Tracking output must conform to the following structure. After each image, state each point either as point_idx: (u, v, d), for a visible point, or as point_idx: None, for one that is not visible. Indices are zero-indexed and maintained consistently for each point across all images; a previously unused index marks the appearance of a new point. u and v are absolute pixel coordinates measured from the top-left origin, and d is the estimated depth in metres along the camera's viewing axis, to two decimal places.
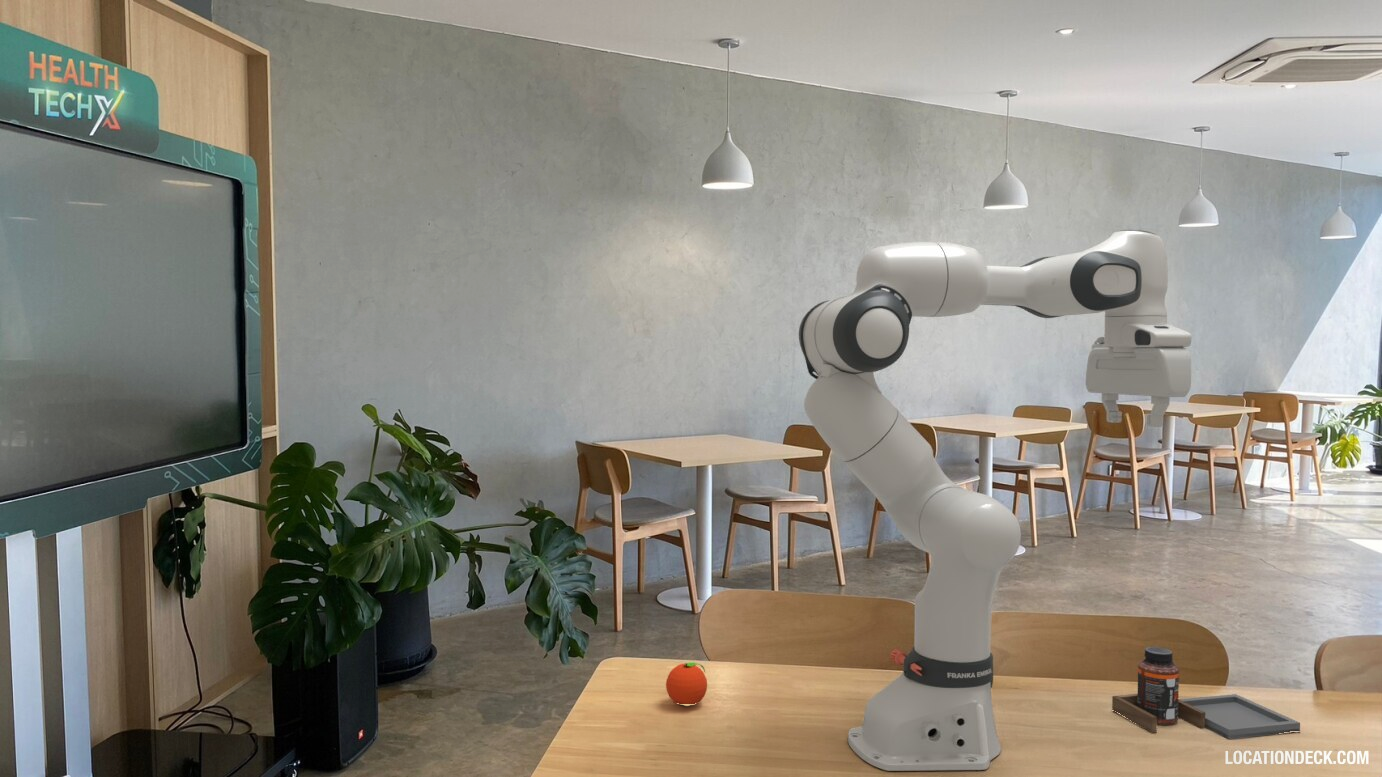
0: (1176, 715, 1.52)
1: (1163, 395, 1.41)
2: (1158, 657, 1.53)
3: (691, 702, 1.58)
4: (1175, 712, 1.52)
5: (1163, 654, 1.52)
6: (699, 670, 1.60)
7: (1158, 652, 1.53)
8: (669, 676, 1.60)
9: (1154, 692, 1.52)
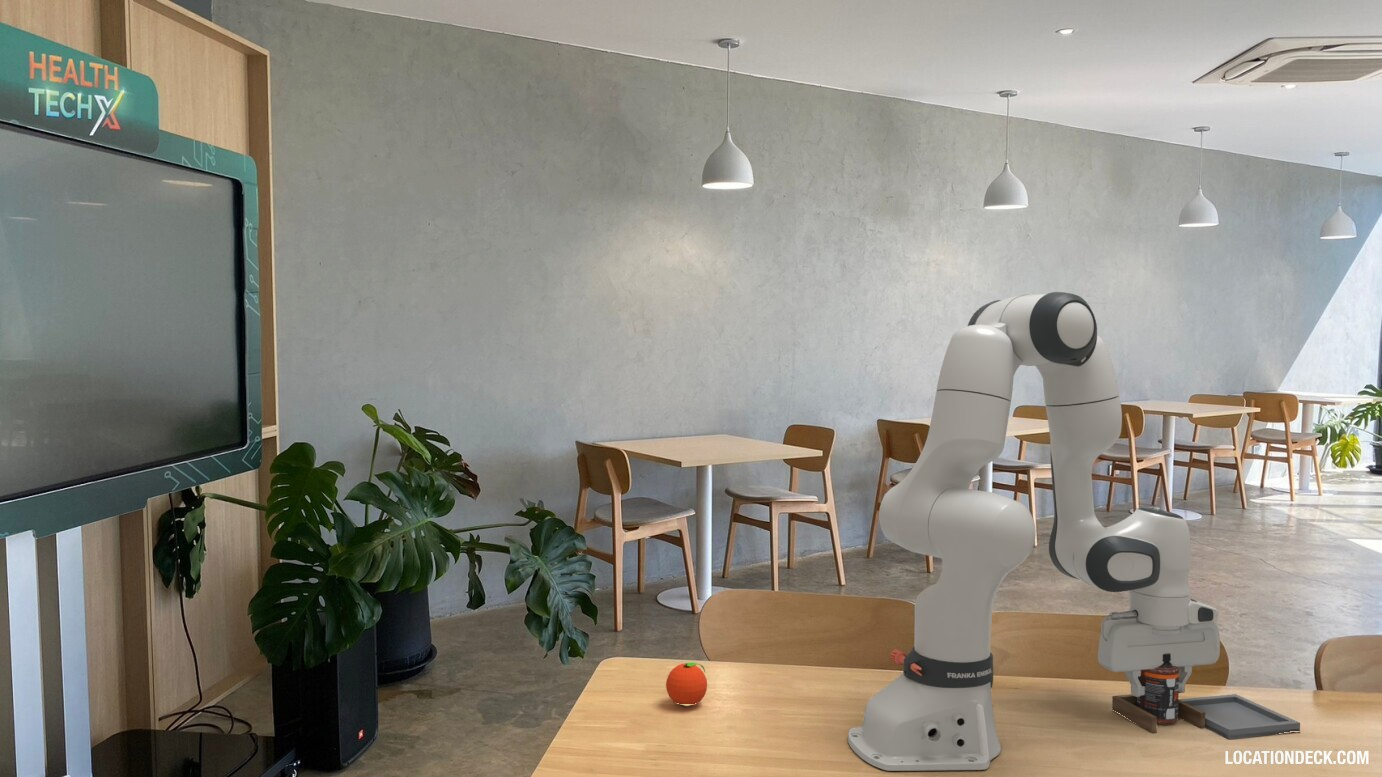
0: (1176, 715, 1.52)
1: (1211, 663, 1.55)
2: None
3: (691, 702, 1.58)
4: (1175, 712, 1.52)
5: (1164, 654, 1.52)
6: (699, 670, 1.60)
7: None
8: (669, 676, 1.60)
9: (1154, 692, 1.52)
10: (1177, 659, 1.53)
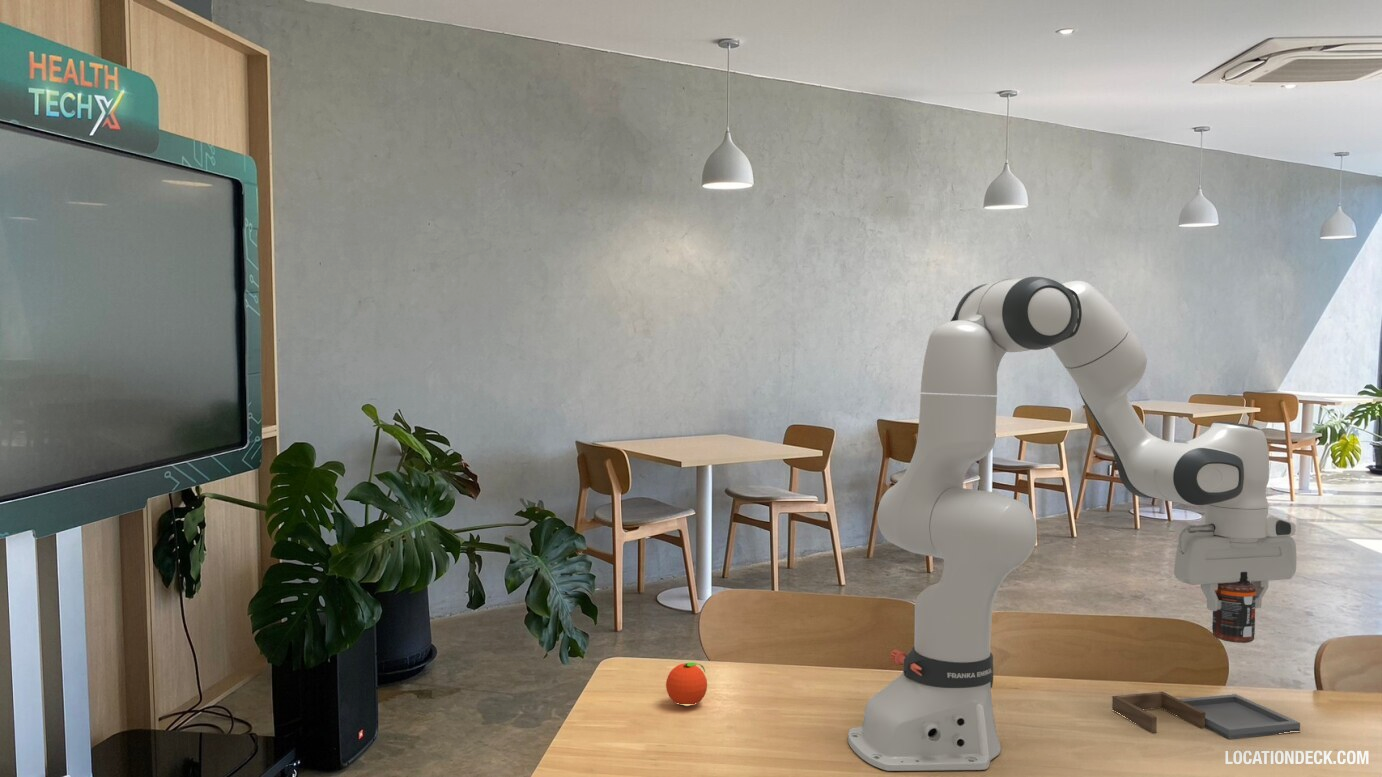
0: (1253, 633, 1.52)
1: (1288, 578, 1.54)
2: None
3: (691, 702, 1.58)
4: (1252, 630, 1.51)
5: (1241, 572, 1.52)
6: (699, 670, 1.60)
7: None
8: (669, 676, 1.60)
9: (1231, 610, 1.51)
10: (1254, 573, 1.52)
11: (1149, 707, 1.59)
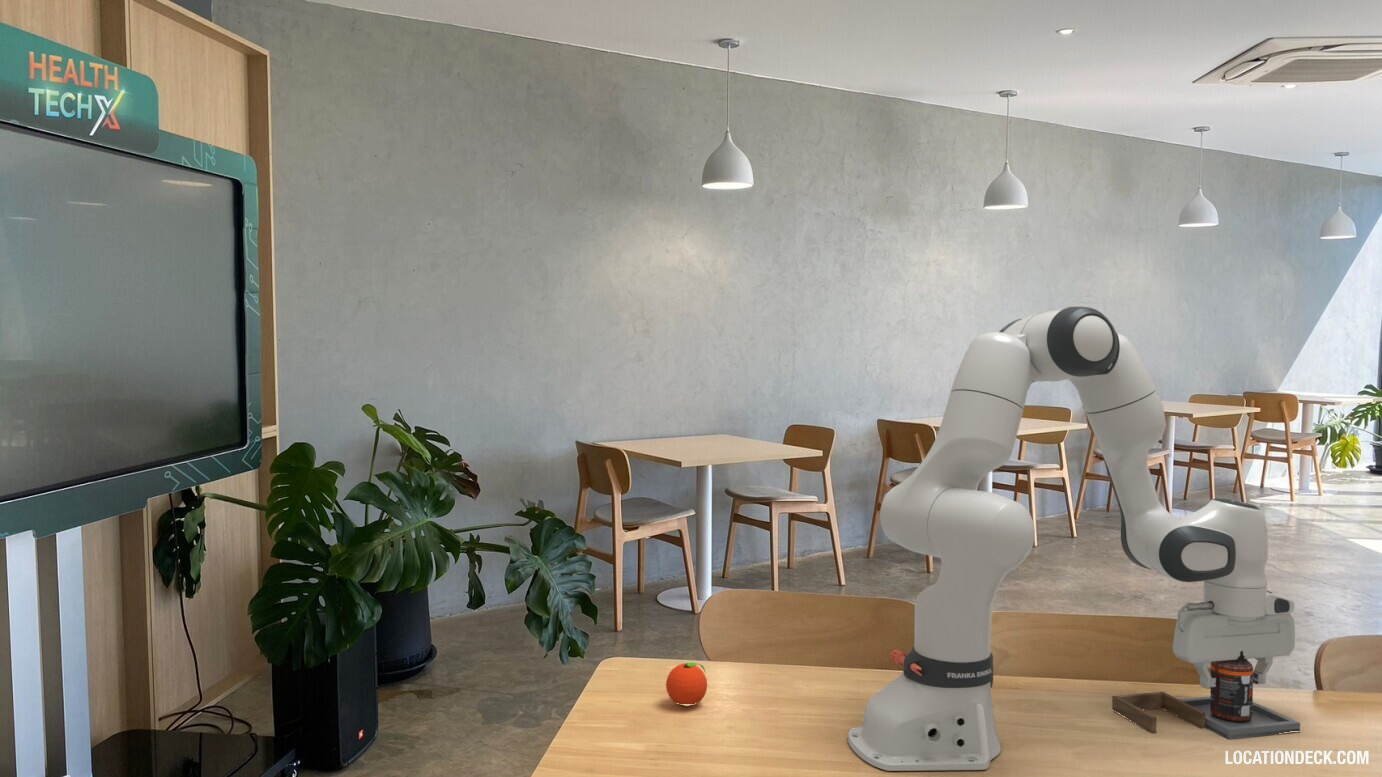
0: (1251, 712, 1.52)
1: (1286, 654, 1.54)
2: None
3: (691, 702, 1.58)
4: (1250, 709, 1.52)
5: None
6: (699, 670, 1.60)
7: None
8: (669, 676, 1.60)
9: (1228, 689, 1.52)
10: (1253, 650, 1.53)
11: (1149, 707, 1.59)
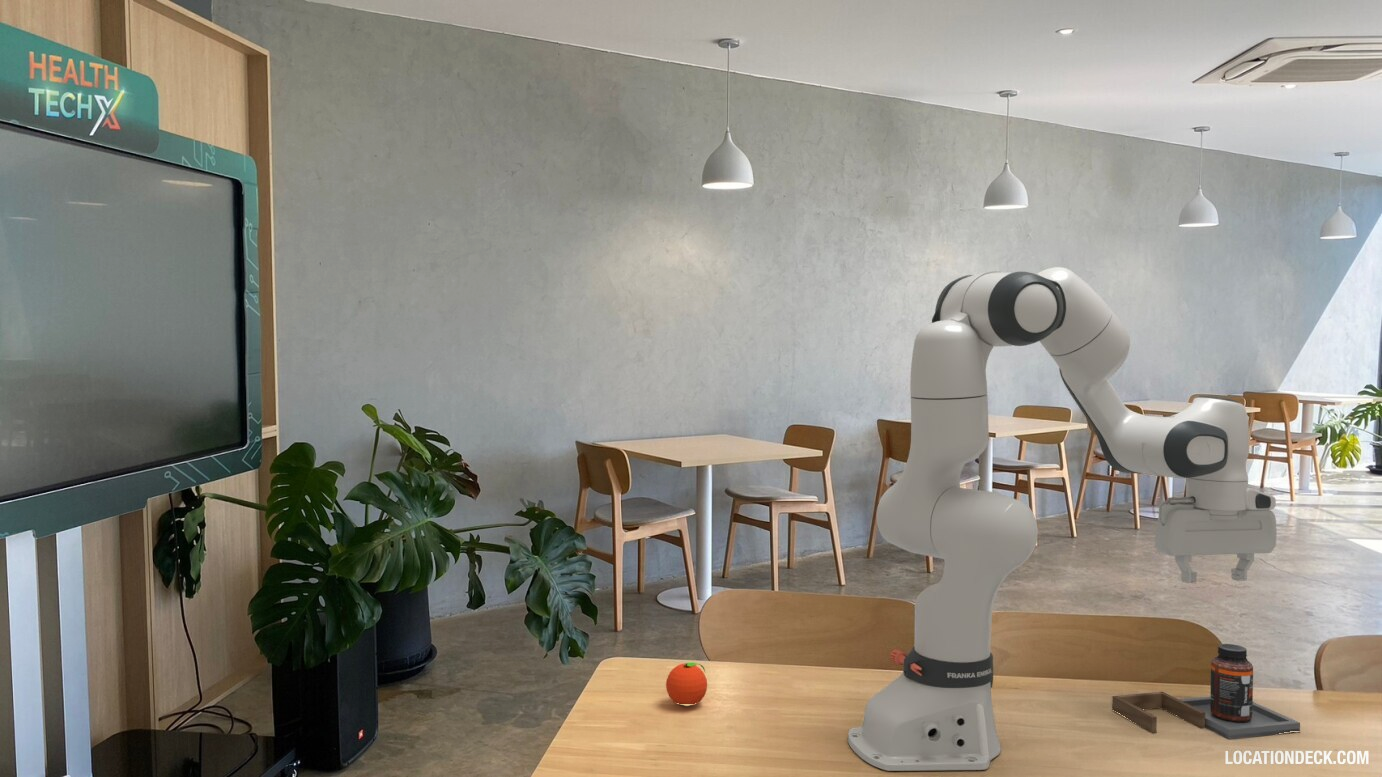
0: (1251, 712, 1.52)
1: (1268, 552, 1.56)
2: (1232, 654, 1.52)
3: (691, 702, 1.58)
4: (1250, 709, 1.52)
5: (1238, 651, 1.52)
6: (699, 670, 1.60)
7: (1232, 649, 1.53)
8: (669, 676, 1.60)
9: (1228, 689, 1.52)
10: (1234, 546, 1.54)
11: (1149, 707, 1.59)
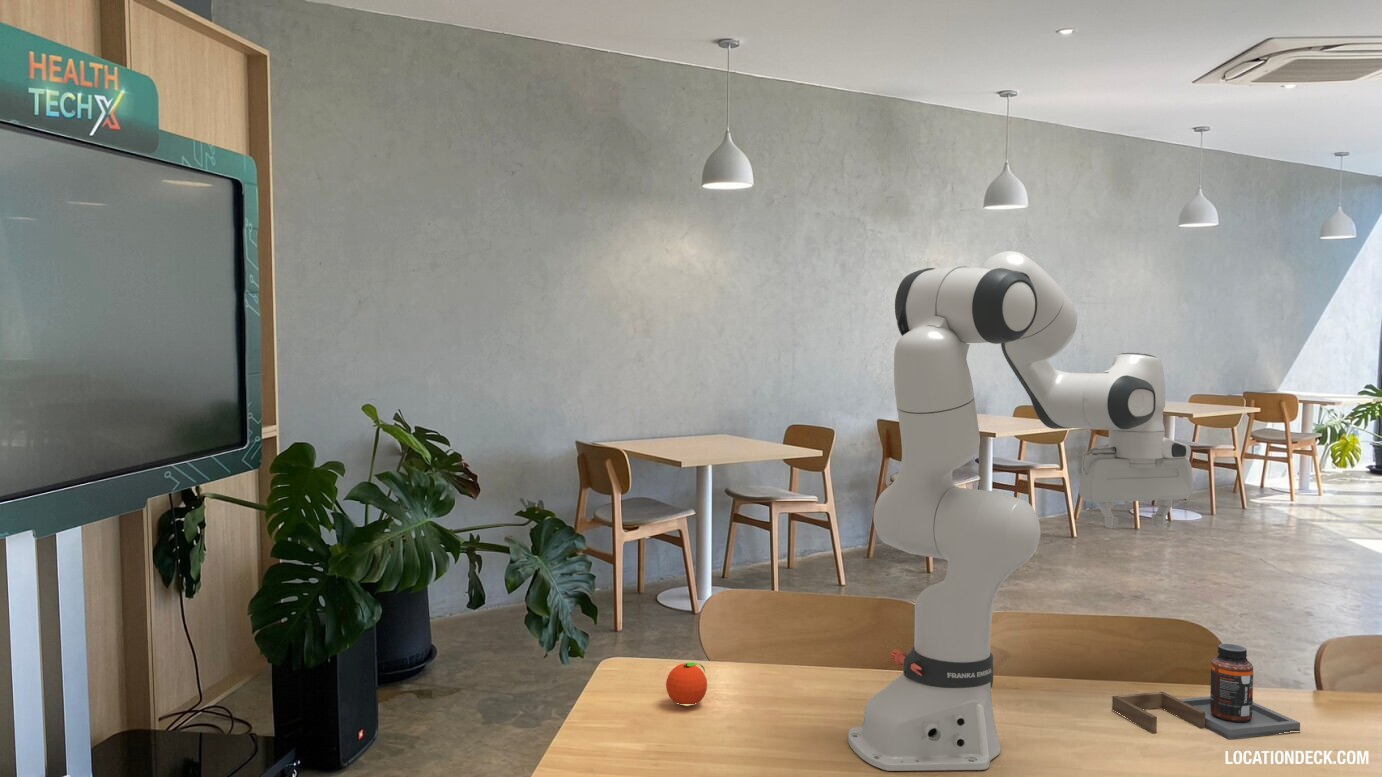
0: (1251, 712, 1.52)
1: (1185, 498, 1.66)
2: (1232, 654, 1.52)
3: (691, 702, 1.58)
4: (1250, 709, 1.52)
5: (1238, 651, 1.52)
6: (699, 670, 1.60)
7: (1232, 649, 1.53)
8: (669, 676, 1.60)
9: (1228, 689, 1.52)
10: (1152, 492, 1.65)
11: (1149, 707, 1.59)
